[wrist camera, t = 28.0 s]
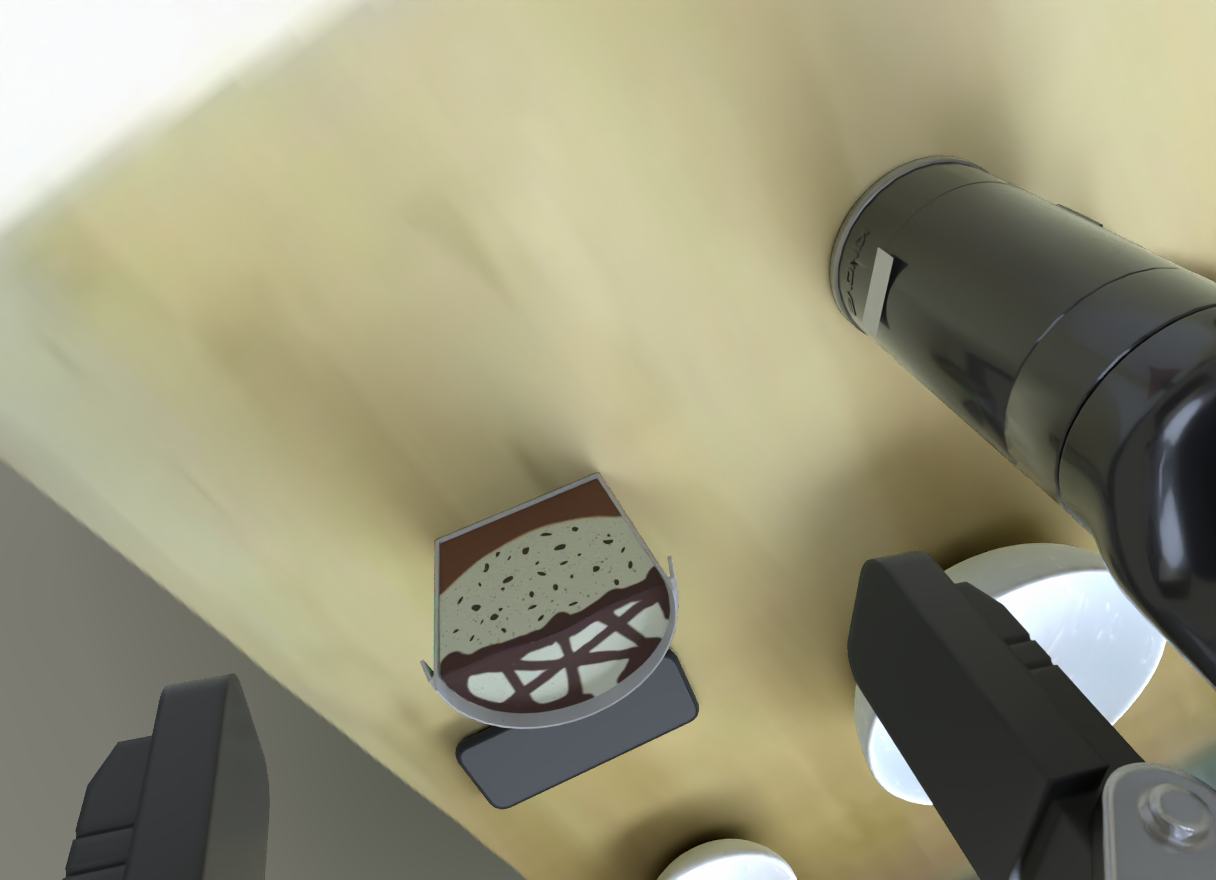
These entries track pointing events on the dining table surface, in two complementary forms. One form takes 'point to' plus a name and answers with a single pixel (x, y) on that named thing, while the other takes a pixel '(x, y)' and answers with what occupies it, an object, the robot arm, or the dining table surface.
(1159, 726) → the dining table surface
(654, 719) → the smartphone
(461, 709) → the food container
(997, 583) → the serving bowl
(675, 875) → the spoon rest
